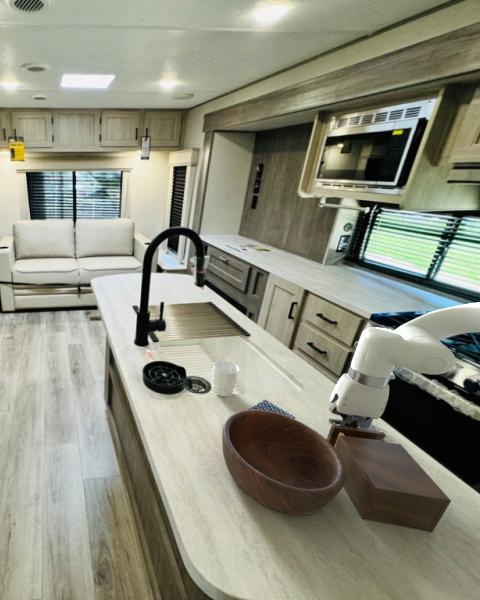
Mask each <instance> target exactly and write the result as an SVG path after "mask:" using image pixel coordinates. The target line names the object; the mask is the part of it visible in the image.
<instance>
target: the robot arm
mask: <svg viewBox="0 0 480 600" xmlns="http://www.w3.org/2000/svg"><path fill="white" fill-rule="evenodd" d="M471 333H480V302H472V303H465V304H460V305H455V306H450V307H446V308H441V309H436V310H433V311H430V312H427V313H424V314H422V315H420V316H418V317H416V318H414V319H412V320H410V321H407V322H405V323H403V324H401V325H400V326H398V327H397V328H396V329H394V330H391V329H387V328H383V327H368V328H365V329H364V330H363V331H362V332H361V334H360V337H359V339H358V343H357V346H356V348H355V351H354V353H353V357H352V360H351V363H350V364H349V365H350V366H349V368H348V371H347V373H342V375H341V376H340V377H339V379H338V380H337V382H336V383H335V386H334V388H333V390H332V392H331V394H330V397H329V402H330V404H331V406H330V407H329V412H330V413H331V414H333V415H335V416H340V417H341V418H342V419H341V420H342V421H341V424H340V426H347V427H354V428H357V427H358V425H361V424H362V423H363V422H364V421H366V420H369V419H373V420H378V419H379V418H380V417H382V415H383V414H384V412H385V410H386V407H387V404H388V400H389V395H390V385H389V382H390V381H391V380H395V379H396V375H395V374H394V373H393V372H394V369H395V367H396V366H398V367H401V368H404V369H407V370H410V371H413V372H417V373H421V374H425V375H432V376H433V375H443V374H447V373H448V372H451V371H452V370H453V369H454V368H455V366H456V364H457V360H456V356H455V354H454V353H453V351H452V350H451V349H450V348H449V347H447V346H446V345H445V344H444V343H443V342H442V341H443V340H446V339H448V338H451V337H455V336H458V335H463V334H471Z"/></svg>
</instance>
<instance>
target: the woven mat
mask: <svg viewBox="0 0 480 600" xmlns="http://www.w3.org/2000/svg"><path fill="white" fill-rule="evenodd" d="M247 410H265V411H271V412H275V413H279V414H282V415H285V416H288V417H291V418H293V419H295V420H296V417H295V416H293V414H292V413H289V412H288V411H285V410H284V409H283V408H281V407H279V406H277V404H273V402H270V401H268V400H267V399H262V401H261V400H260V401H259V402H258V403H256V404H254V405H252V407H250V408H247Z"/></svg>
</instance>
